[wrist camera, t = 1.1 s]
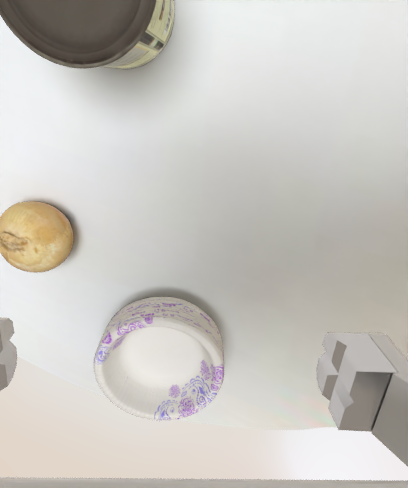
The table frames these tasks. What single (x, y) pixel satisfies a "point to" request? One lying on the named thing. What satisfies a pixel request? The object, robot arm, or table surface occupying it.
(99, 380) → the paper bowls
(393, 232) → the table surface
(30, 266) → the onion
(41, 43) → the coffee can
